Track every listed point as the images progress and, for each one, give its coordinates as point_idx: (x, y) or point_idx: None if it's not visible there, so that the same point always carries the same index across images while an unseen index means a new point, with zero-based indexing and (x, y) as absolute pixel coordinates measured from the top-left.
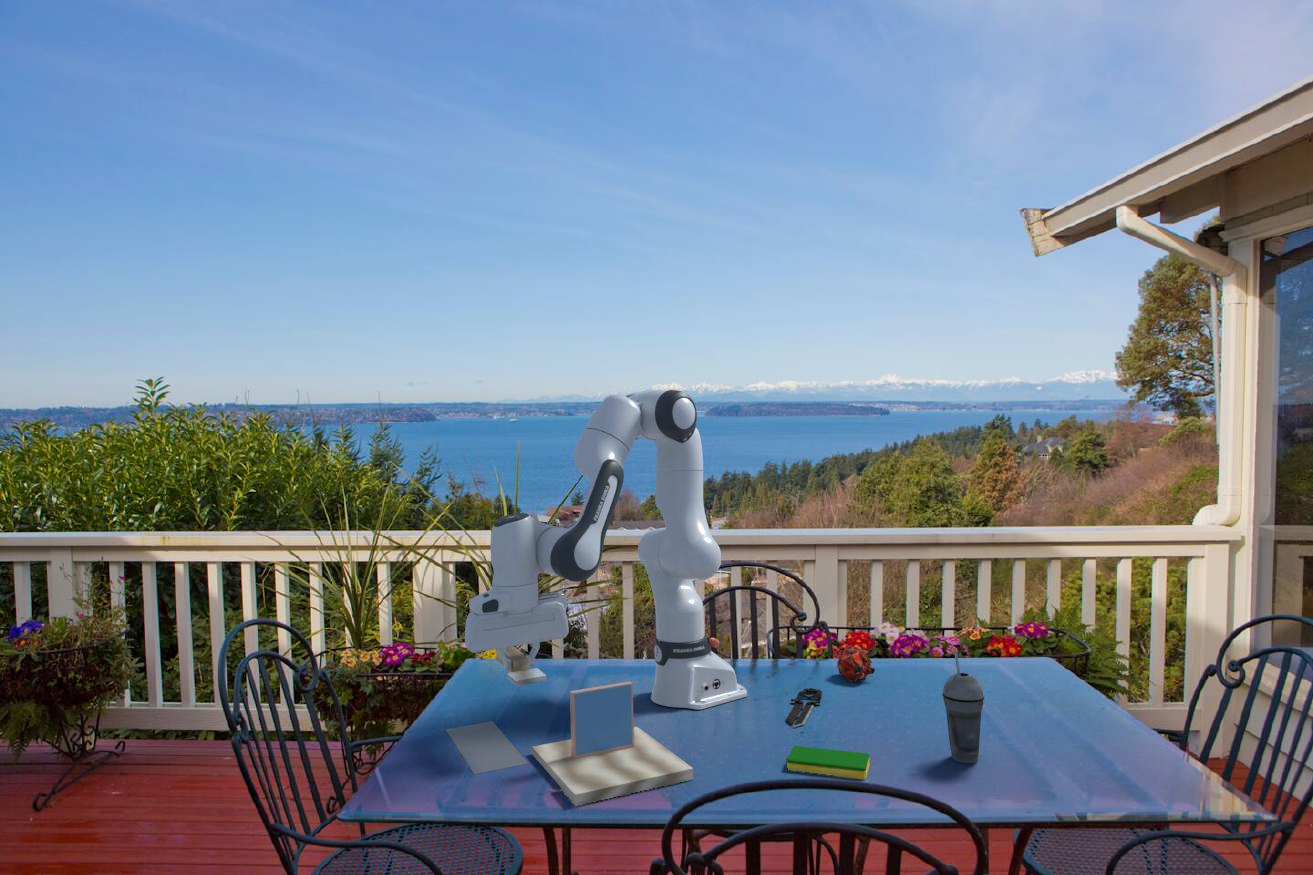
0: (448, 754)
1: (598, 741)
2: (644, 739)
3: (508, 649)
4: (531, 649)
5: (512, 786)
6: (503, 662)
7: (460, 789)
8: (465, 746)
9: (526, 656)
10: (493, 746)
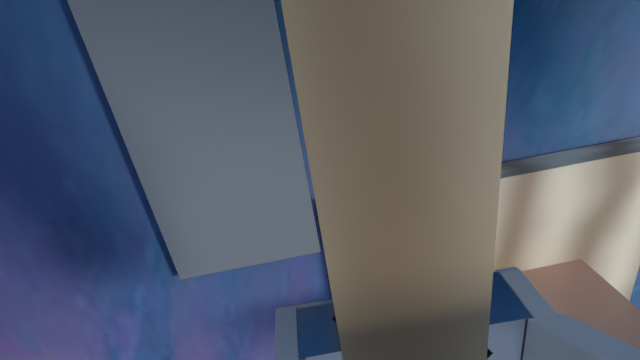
0: (74, 94)
1: None
2: (626, 239)
3: (391, 3)
4: (589, 355)
5: (272, 329)
6: (275, 345)
7: (154, 321)
8: (127, 71)
9: (492, 339)
10: (230, 103)
